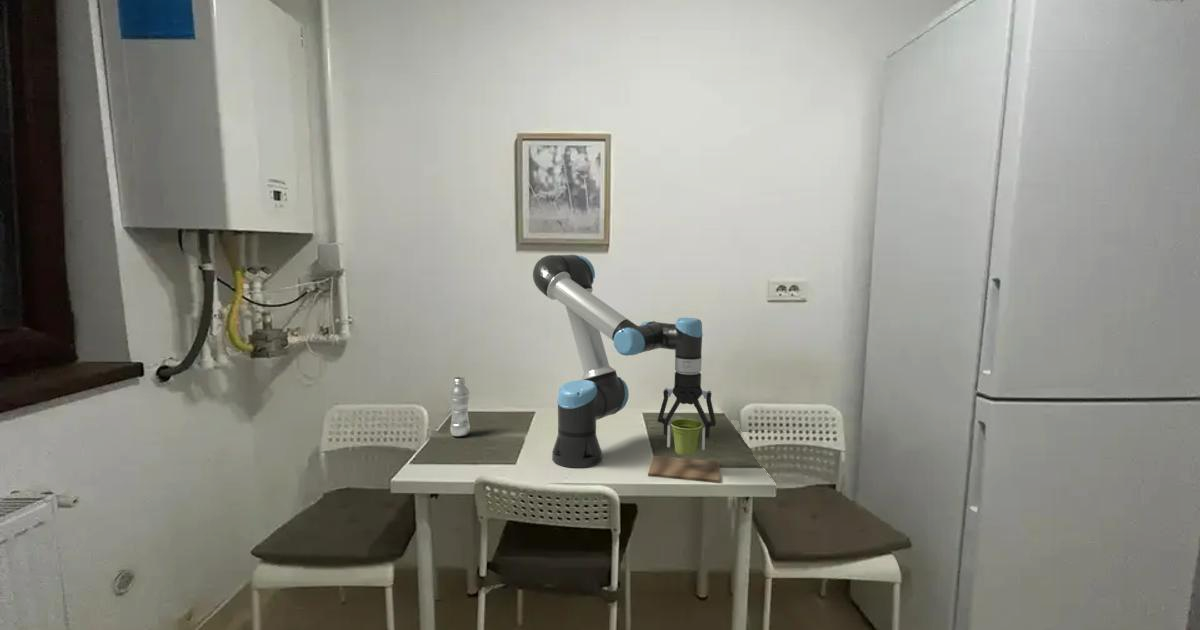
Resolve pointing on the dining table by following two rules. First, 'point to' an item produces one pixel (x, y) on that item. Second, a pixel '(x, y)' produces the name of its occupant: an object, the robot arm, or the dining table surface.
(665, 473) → the walnut board
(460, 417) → the plastic bottle
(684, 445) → the plant pot
